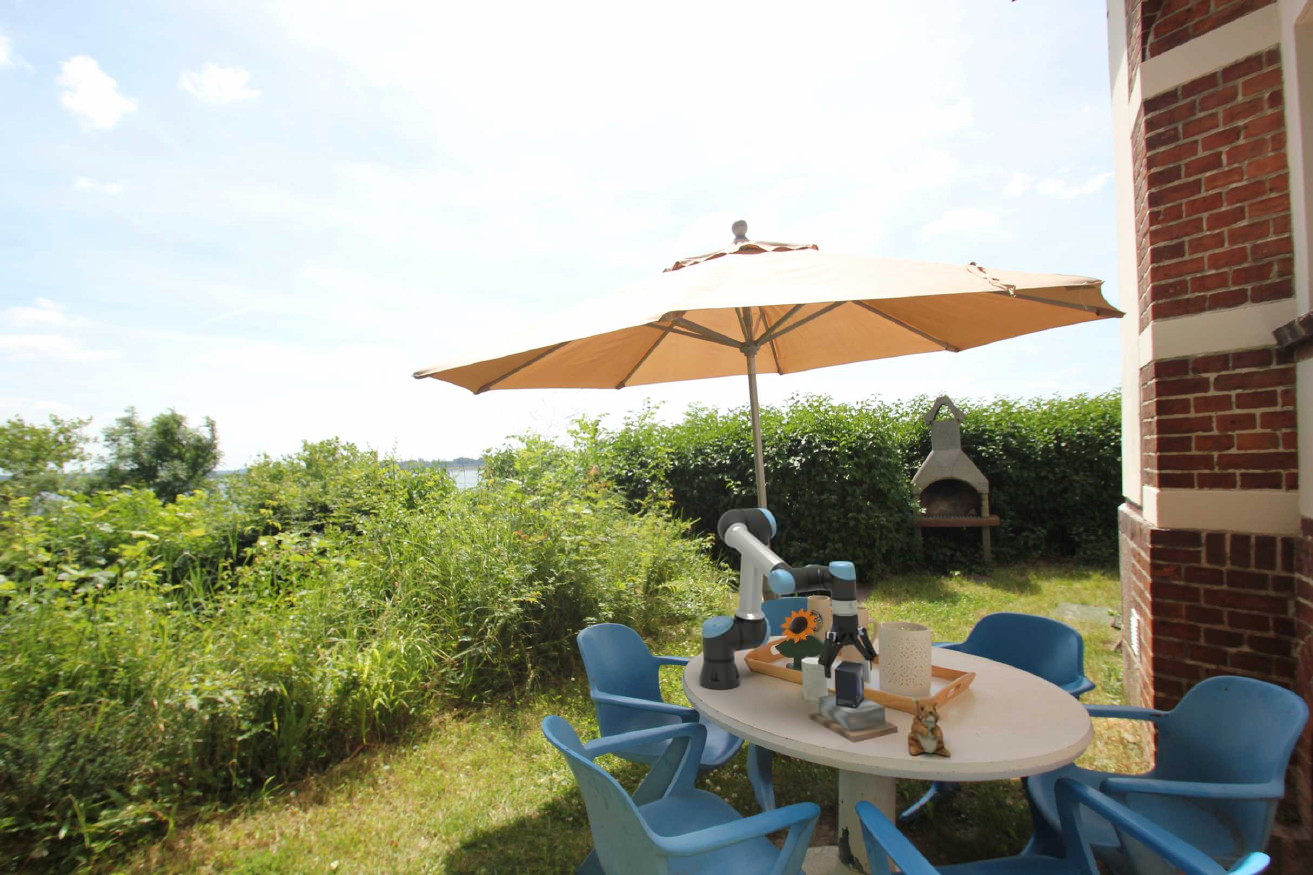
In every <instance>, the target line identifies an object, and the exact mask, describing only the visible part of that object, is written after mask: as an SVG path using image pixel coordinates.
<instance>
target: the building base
mask: <svg viewBox="0 0 1313 875" xmlns="http://www.w3.org/2000/svg"><path fill="white" fill-rule="evenodd" d="M818 698H819V701H818V710H815V711H811V712H808V715H809V716H808V717H809V719H810V720H813V721H815V722H816V723H818V724H820V725H822V726H823V727H826V728H827V729H829V730H830V731H833V732H834V733H836V734H838V735H840V736H841V737H843V738H845V739H847V740H849V741H850V742H853V743H856V742H860V741H864V740H869V739H873V738H876V737H875V736H878V737H882V736H886V735H890V734H894V733H898V732H899V731H898V728H899V727H898V726H897V725H895V724H893V723H891V722H889V721H887V720H886V713H885V712H886V710H885V706H884V705H881V704H879V703H877V702H875V701H872V700H870V699H869V698H866V697H865V698H864V699H863V701H862V702H861V703H860V704H859V706H858V707H857V708H851V707H846V706H840V705H836V693H834V694H828V696H823V697H818ZM885 734H886V735H885ZM881 735H882V736H881ZM855 741H856V742H855Z"/></svg>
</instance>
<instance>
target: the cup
mask: <svg viewBox="0 0 1313 875" xmlns="http://www.w3.org/2000/svg"><path fill="white" fill-rule="evenodd" d="M818 660H819V657H805V658H802V659H801V674H802V675H801V677H802V692H803V698H804V699H805V700H807V701H811V702H819V698H818V697H823V696H828V695H829V690H828V689H829V688H827V678H826V677H825V673H824V666H823V665H820V664H818Z"/></svg>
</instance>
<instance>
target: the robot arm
mask: <svg viewBox="0 0 1313 875" xmlns="http://www.w3.org/2000/svg"><path fill="white" fill-rule="evenodd" d="M717 532H718V535H719V537H720V539H721V540H722V542H724V543H725V544H726V545H727V546H728V547H730V548H734V549H736V550H737V551H738V552H739V554H741V557H740V577H739V592H738V593H739V597H738V599H739V600H738V608H736V609H735V610H734V614H733V617H734V618H732V616H729V615H720V616H719V615H718V616H711V617H709V618H707V619H705V620H704V622H703V623H702V630H701V631H702V632H701V635H702V636H701V637H702V650H703V652H702V656H703V663H702V666H701V669H700V674H699V678H698V679H699V684H700V683H701V685H700V686H702V685H703V686H705V687H704V688H706V687H709V688H708V689H710V688H713V689H712V690H728V689H734V688H737V687H739V686H740V685H741V675H740V673H739V670H738V667H737V664H736V659H735V652H741V651H747V650H751V649H752V650H753V649H754V650H756V649H759V648H762V647H765V645H766V644H768V642H769V640H770V637H771V631H772V630H771V625H770V622H769V619H768V618H767V617H766V614H765V612H764V611H763V610H762V603H763V599H762V598H763V584H764V583H763V581H764V576H765V577H766V578H768V581H767V582H768V587H770V590H771V592H773V593H774V594H775V595H784V596H785V595H790V594H791V595H792V594H797V593H798V594H799V593H803V592H804V593H805V592H812V591H813V592H814V591H826V592H827V591H828V592H830V595H831V596H830V600H831V612H832V615H831V617H832V625H833V626H832V627H833V628H834V630H833V631H827V630H826V631H825V633H824V634H825V635H824V641H823V644H822V648H821V651H820V654H819V657H818V658H819V660H818V664H820V665H823V666H824V673H825V677H826V678H827V688H828V689H829V690H831V691H835V670H834V669H835V668H834V667H833V666H832V665H833V664H834V662H835V661H836V658H837V657H838V654H839V653H840V651H841V649H843V648H844V647H848V646H854V647H855V649H856V650H857V651H858V652H859V654H860V655H861V656H862V658H861V663H862V664H863V677H864V683H867V684H870V685H871V684H872V671H873V664H872V663H873V662H874V661H875V658H877V657H878V654H877V652H876V650H875V648H874V646H873V643H872V642H871V639H870V638H869V635H868V630H867V627H862V626H859V623H860V622H859V615H858V614H857V613H858V610H859V609H858V597H857V575H856V569H855V565H854V563H853V562H851V561H842V560H841V561H840V560H839V561H838V560H837V561H831V562H829V564H828V565H829V566H826V565H819V564H808V565H806V566H803V567H794V568H793V567H792V566H790V565H789V564H788V563H787V562H786V561H784V560H783V559H782V558H781V557H779V555H777V554H776V553H775V552H774V551H773V550H771V548H769V545H770V540H771V539H772V538H774V537H775V535H776V533H777V523H776V519H775V517H774V515H773V514H772V512H771V511H770V510H768V509H766V508H758V507H753V508H752V507H751V508H740V509H739V508H738V509H737V508H736V509H735V508H734V509H730V510H728V511H726V512H723V514H722V515H721V517H720V518H719V520H718V523H717ZM858 636H859V638H860V639H859V638H858ZM703 686H702V687H703Z"/></svg>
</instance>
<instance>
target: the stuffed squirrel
mask: <svg viewBox="0 0 1313 875" xmlns="http://www.w3.org/2000/svg"><path fill="white" fill-rule="evenodd" d="M912 702H913V703H914V706H915V707H916V710H914V712H915V713H914V715H913V717H912V721H913V722H912V724H911V725H910V730H911V731H910V732H909V734H907V735H908V736H907V744H908V752H909V754H910V755H911V756H917V755H920V754H921V753H926V752H927V754H933V752H934V754H936V753H937V755H939V754H941V755H940V756H943V755H945V756H944V757H947V756H948V757H950V756H951V753H950V751H949V749H948V748H946V747H945V743H944V741H943V739H944V733H943V731H942V729H941V727H940V726H939V725H938V724H937V723H938V722H939V721H941V720H943V717H942V716H940V714H939V713H938V711H937V708H936V707H937V705H938V704H939V703H940V701H938V700H935V701H933V700H931V699H926V698H923V699H922V698H921V699H917V698H915V697H914V698H912Z"/></svg>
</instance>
